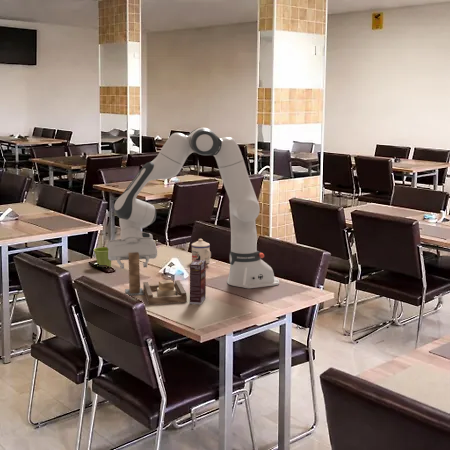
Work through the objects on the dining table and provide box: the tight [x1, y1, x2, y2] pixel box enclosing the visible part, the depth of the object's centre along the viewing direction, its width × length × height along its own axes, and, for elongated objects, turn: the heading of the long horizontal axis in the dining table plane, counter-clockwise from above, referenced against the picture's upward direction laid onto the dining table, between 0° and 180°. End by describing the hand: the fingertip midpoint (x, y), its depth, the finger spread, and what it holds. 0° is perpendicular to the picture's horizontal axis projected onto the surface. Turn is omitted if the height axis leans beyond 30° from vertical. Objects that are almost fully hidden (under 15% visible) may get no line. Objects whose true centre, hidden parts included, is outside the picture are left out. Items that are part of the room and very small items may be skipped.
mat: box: [124, 287, 145, 296], centre depth 272 cm, size 7×8×1 cm
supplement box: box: [189, 260, 207, 305], centre depth 259 cm, size 9×5×16 cm, turn 168°
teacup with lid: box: [191, 238, 212, 265], centre depth 320 cm, size 12×9×12 cm
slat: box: [128, 252, 141, 293], centre depth 271 cm, size 4×4×16 cm
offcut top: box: [158, 279, 175, 291], centre depth 264 cm, size 5×4×3 cm
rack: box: [142, 279, 188, 305], centre depth 268 cm, size 15×20×4 cm
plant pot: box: [93, 246, 112, 268], centre depth 312 cm, size 9×9×9 cm
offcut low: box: [156, 287, 177, 296], centre depth 264 cm, size 7×5×4 cm
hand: (133, 267), depth 270 cm, fingers open, 8 cm apart
